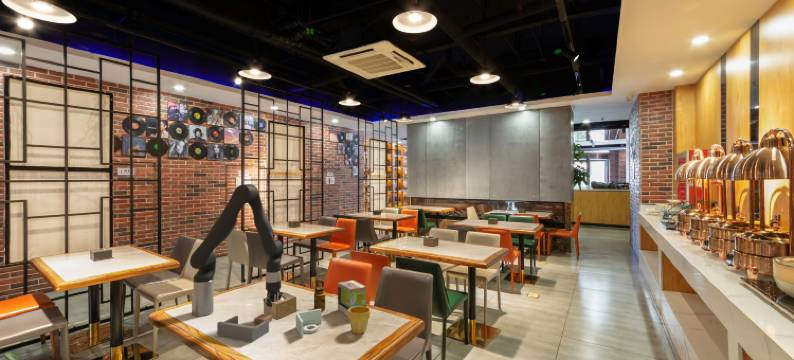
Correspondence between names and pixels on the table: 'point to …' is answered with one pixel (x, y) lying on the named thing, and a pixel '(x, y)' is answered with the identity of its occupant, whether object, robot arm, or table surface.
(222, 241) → the robot arm
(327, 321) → the table surface
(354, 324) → the plant pot
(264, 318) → the walnut tile
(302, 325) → the right angle wall
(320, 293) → the condiment
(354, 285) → the tea box
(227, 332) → the box
